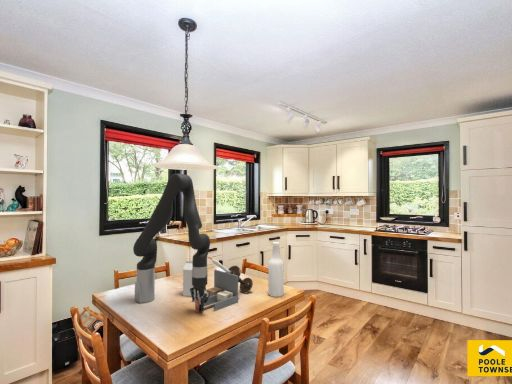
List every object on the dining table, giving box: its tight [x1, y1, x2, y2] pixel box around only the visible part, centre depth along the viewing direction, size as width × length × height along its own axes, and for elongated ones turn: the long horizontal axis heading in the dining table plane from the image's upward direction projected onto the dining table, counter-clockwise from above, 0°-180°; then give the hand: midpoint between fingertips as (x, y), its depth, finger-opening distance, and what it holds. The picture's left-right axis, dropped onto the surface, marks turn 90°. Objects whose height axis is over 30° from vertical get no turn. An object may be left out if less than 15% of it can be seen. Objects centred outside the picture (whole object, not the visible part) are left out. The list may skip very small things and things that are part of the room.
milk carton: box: [182, 260, 193, 297], centre depth 161 cm, size 7×7×19 cm
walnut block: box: [206, 286, 222, 297], centre depth 155 cm, size 6×6×5 cm
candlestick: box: [207, 256, 254, 294], centre depth 156 cm, size 11×11×35 cm
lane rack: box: [191, 269, 239, 312], centre depth 149 cm, size 16×19×14 cm
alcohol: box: [267, 241, 285, 298], centre depth 161 cm, size 9×9×30 cm
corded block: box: [194, 290, 233, 314], centre depth 143 cm, size 21×6×6 cm, turn 138°
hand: (199, 310), depth 136 cm, fingers closed on corded block, 2 cm apart
